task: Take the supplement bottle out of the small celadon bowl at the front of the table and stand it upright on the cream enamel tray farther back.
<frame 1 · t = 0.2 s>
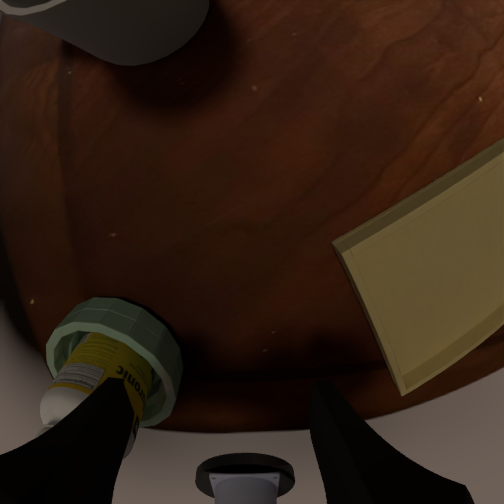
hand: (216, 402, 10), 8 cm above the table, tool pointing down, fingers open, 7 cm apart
supplement bottle: (121, 352, 19), resting on celadon dish
cup: (125, 16, 12), on the table
enamel tray: (467, 260, 17), on the table
celadon dish: (122, 349, 19), on the table
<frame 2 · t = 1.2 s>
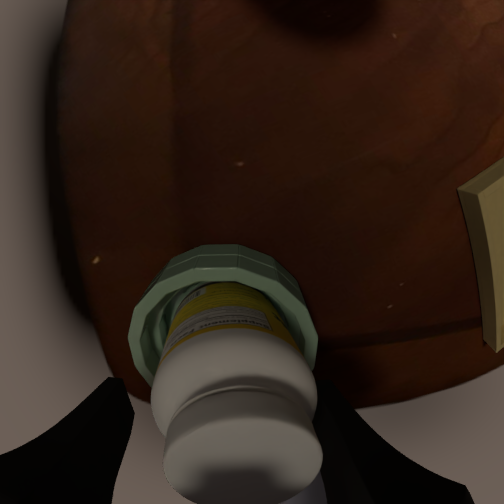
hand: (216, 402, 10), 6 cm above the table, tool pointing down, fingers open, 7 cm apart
supplement bottle: (226, 324, 16), point 1 cm above the table, touching celadon dish
celadon dish: (225, 317, 16), on the table
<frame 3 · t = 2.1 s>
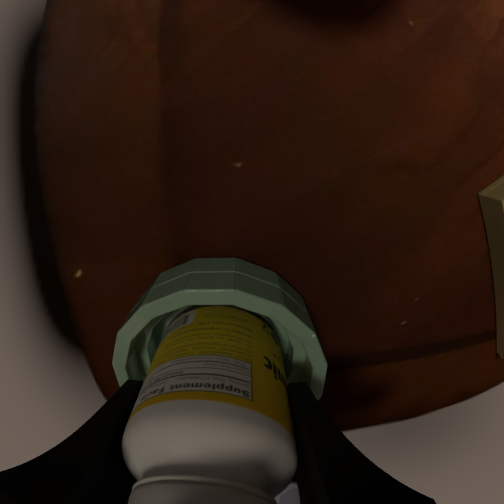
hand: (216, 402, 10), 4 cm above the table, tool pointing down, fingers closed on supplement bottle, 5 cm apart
supplement bottle: (223, 342, 14), resting on celadon dish, touching gripper
celadon dish: (222, 337, 15), on the table
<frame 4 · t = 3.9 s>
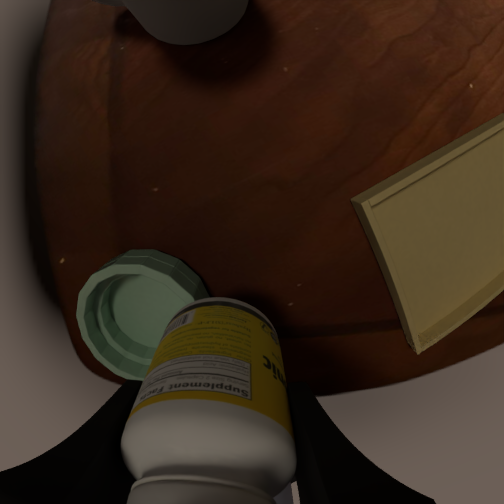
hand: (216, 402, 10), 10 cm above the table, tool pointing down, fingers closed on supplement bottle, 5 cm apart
supplement bottle: (222, 341, 14), point 6 cm above the table, touching gripper
cup: (174, 5, 15), on the table
enamel tray: (468, 224, 19), on the table
celadon dish: (152, 306, 21), on the table
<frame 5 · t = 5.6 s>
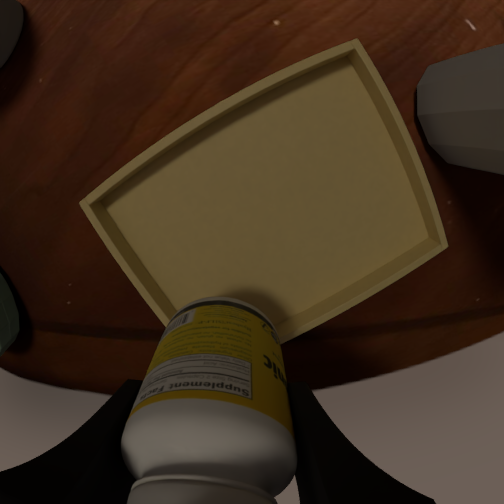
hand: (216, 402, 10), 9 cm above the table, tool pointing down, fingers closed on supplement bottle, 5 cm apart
supplement bottle: (223, 341, 14), point 5 cm above the table, touching gripper
enamel tray: (274, 213, 17), on the table
water bottle: (458, 106, 15), on the table
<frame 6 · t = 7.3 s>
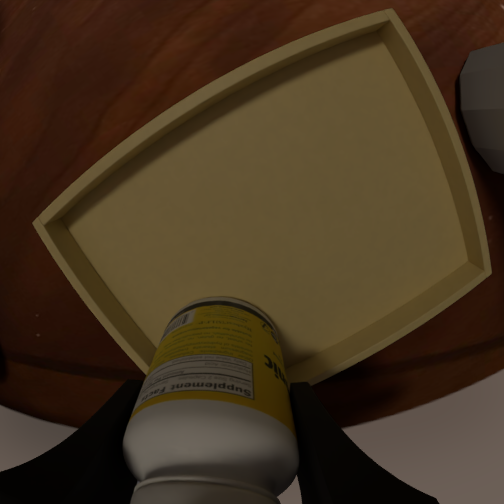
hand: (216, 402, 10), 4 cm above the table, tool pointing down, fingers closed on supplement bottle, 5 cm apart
supplement bottle: (222, 341, 14), resting on enamel tray, touching gripper
enamel tray: (283, 234, 13), on the table
water bottle: (500, 103, 11), on the table
when the fingers open (4 cm above the table, at t = 7.3 s): supplement bottle stays where it is, resting on enamel tray.
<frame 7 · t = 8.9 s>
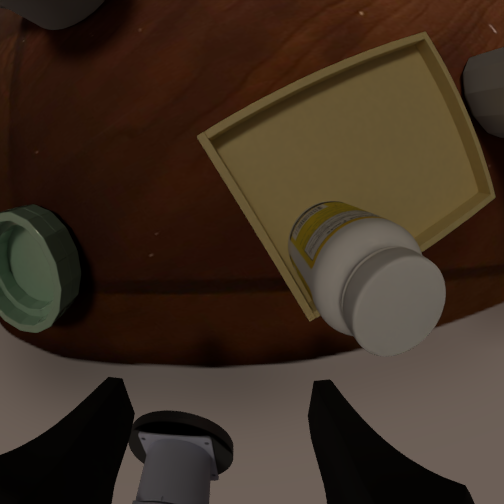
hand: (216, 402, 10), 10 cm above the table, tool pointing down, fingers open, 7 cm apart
supplement bottle: (328, 240, 19), resting on enamel tray
enamel tray: (369, 163, 18), on the table
celadon dish: (38, 260, 19), on the table
water bottle: (489, 91, 17), on the table
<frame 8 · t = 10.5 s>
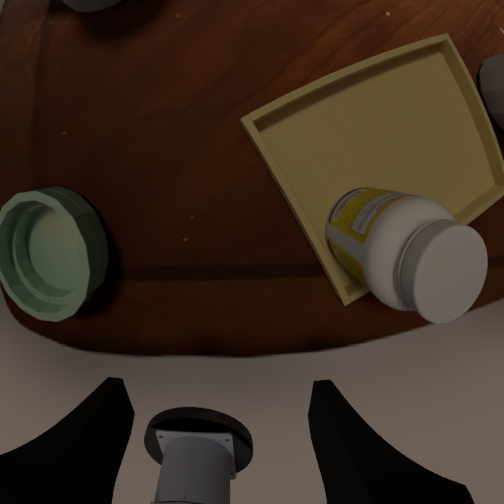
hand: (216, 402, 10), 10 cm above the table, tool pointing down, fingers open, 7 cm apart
supplement bottle: (361, 226, 19), resting on enamel tray
enamel tray: (398, 153, 18), on the table
celadon dish: (60, 246, 19), on the table
water bottle: (502, 91, 17), on the table
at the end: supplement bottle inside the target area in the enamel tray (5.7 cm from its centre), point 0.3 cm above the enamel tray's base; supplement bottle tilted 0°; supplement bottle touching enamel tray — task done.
